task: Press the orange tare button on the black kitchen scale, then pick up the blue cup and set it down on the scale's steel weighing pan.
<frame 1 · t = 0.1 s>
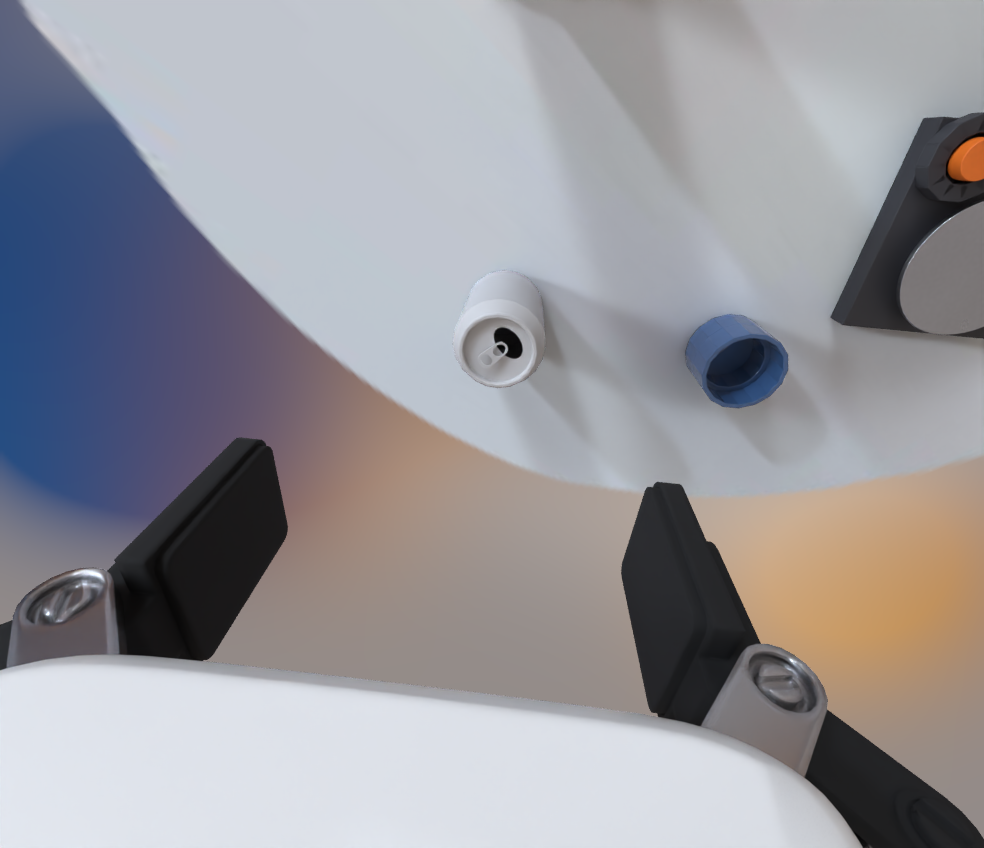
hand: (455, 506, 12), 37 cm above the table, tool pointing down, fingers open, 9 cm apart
can: (505, 306, 47), on the table
tare button: (976, 159, 34), point 4 cm above the table, slide at 0.2 cm
blue cup: (721, 347, 47), on the table
scale: (954, 235, 40), on the table
weighing pan: (940, 259, 41), resting on scale
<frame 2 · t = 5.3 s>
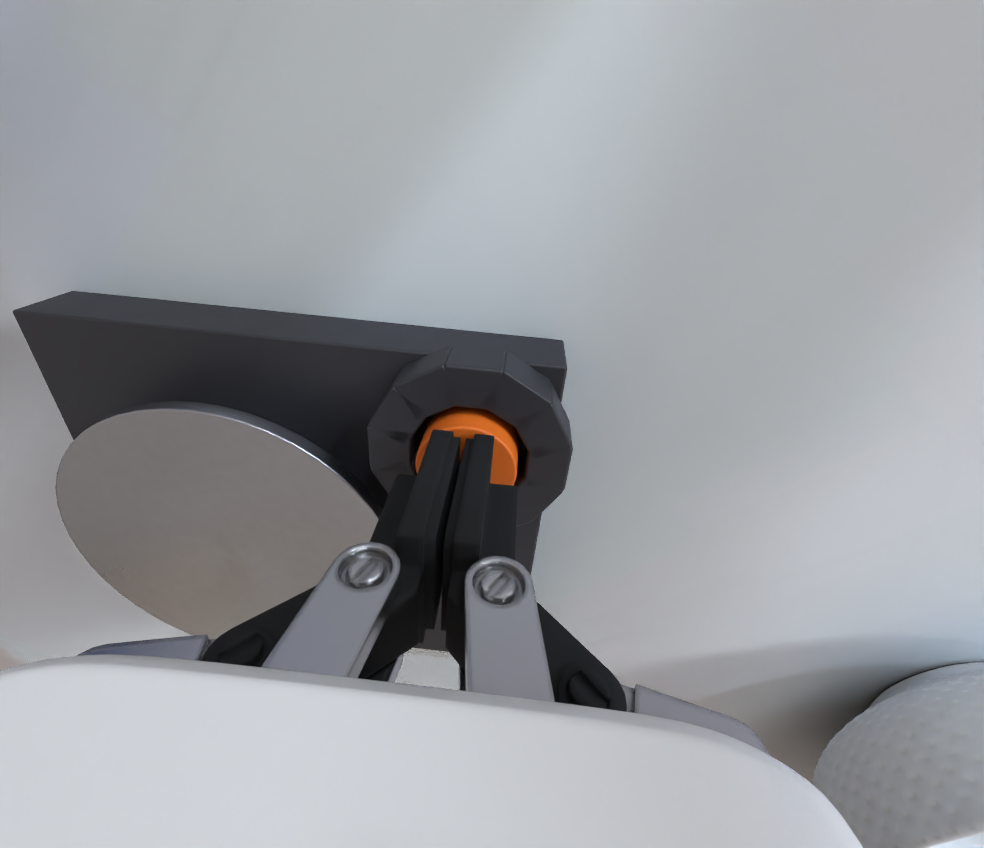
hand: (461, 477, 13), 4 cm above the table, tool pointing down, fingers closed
tare button: (468, 456, 13), point 3 cm above the table, slide at -0.3 cm, touching gripper
scale: (336, 484, 19), on the table
weighing pan: (286, 479, 19), resting on scale
cereal bowl: (950, 703, 23), on the table
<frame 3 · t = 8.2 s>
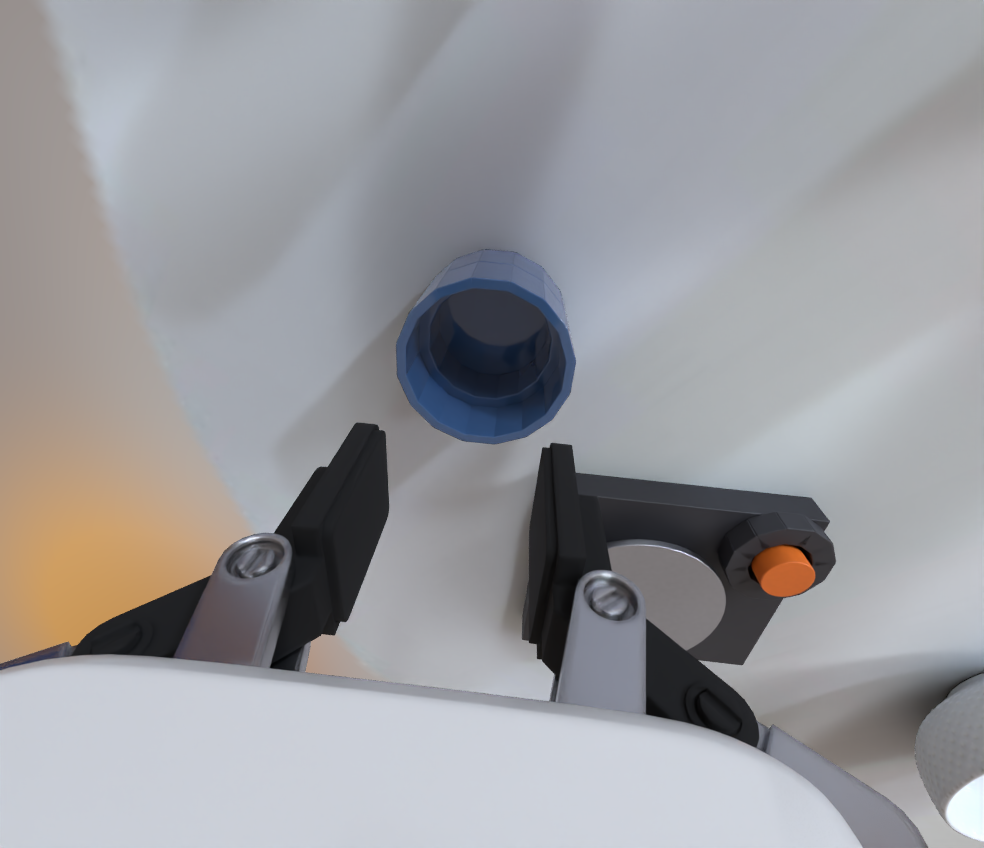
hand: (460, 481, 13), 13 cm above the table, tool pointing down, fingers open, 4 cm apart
tare button: (782, 570, 26), point 4 cm above the table, slide at 0.1 cm
blue cup: (494, 320, 24), on the table
scale: (649, 563, 32), on the table
weighing pan: (620, 560, 32), resting on scale
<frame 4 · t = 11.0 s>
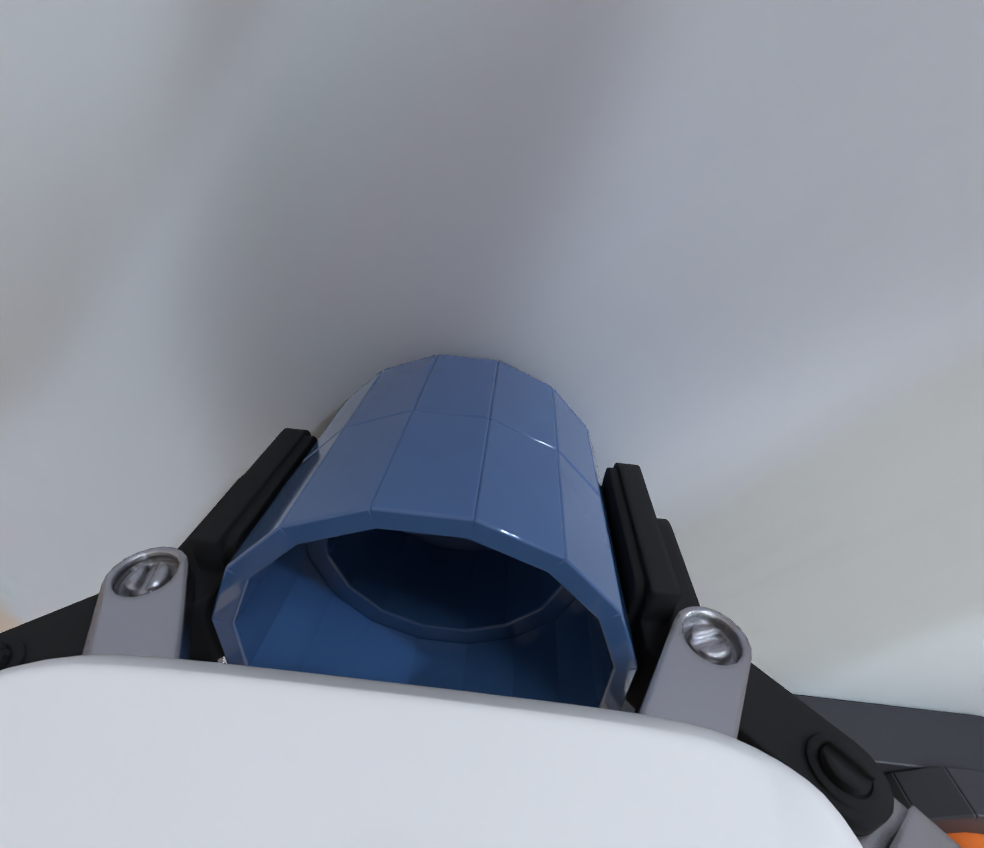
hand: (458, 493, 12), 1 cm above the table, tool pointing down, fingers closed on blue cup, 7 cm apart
blue cup: (464, 465, 13), on the table, touching gripper
scale: (709, 775, 21), on the table
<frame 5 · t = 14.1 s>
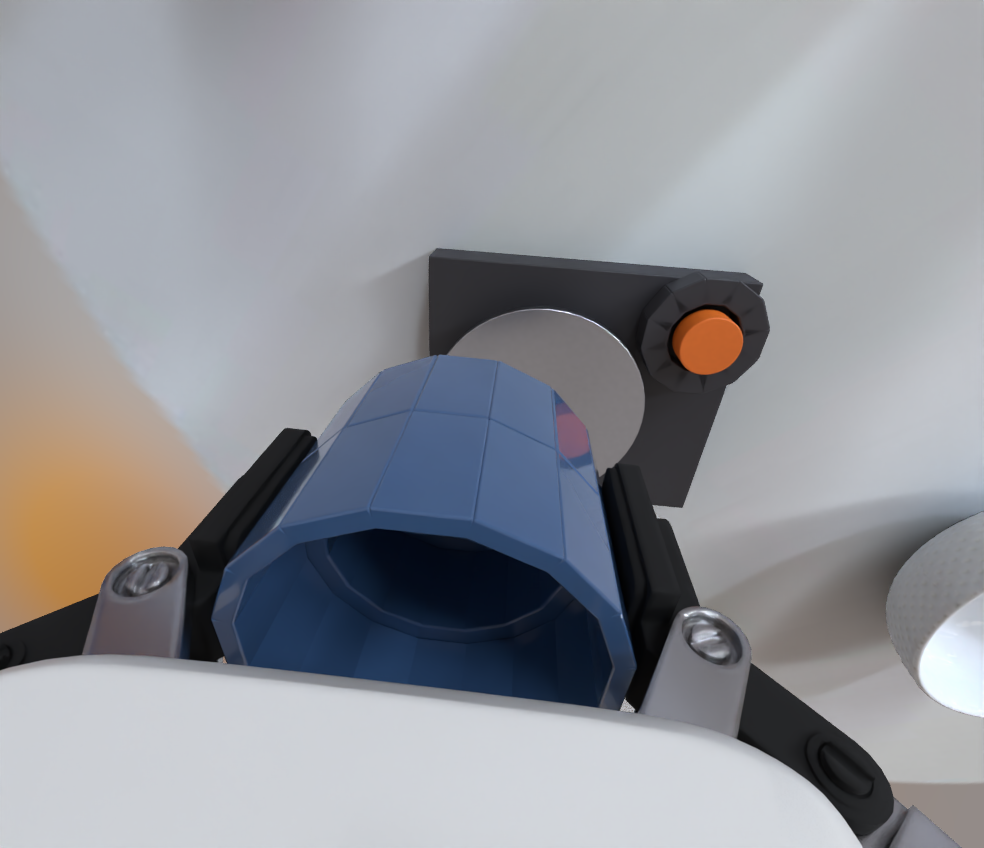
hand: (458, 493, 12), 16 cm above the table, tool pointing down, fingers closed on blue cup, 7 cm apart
tare button: (706, 342, 22), point 4 cm above the table, slide at 0.1 cm
blue cup: (464, 465, 13), point 15 cm above the table, touching gripper
scale: (569, 382, 28), on the table
weighing pan: (536, 379, 28), resting on scale
cereal bowl: (983, 550, 32), on the table
when the fingers open (5 cm above the table, at t = 17.6 s): blue cup stays where it is, resting on weighing pan.
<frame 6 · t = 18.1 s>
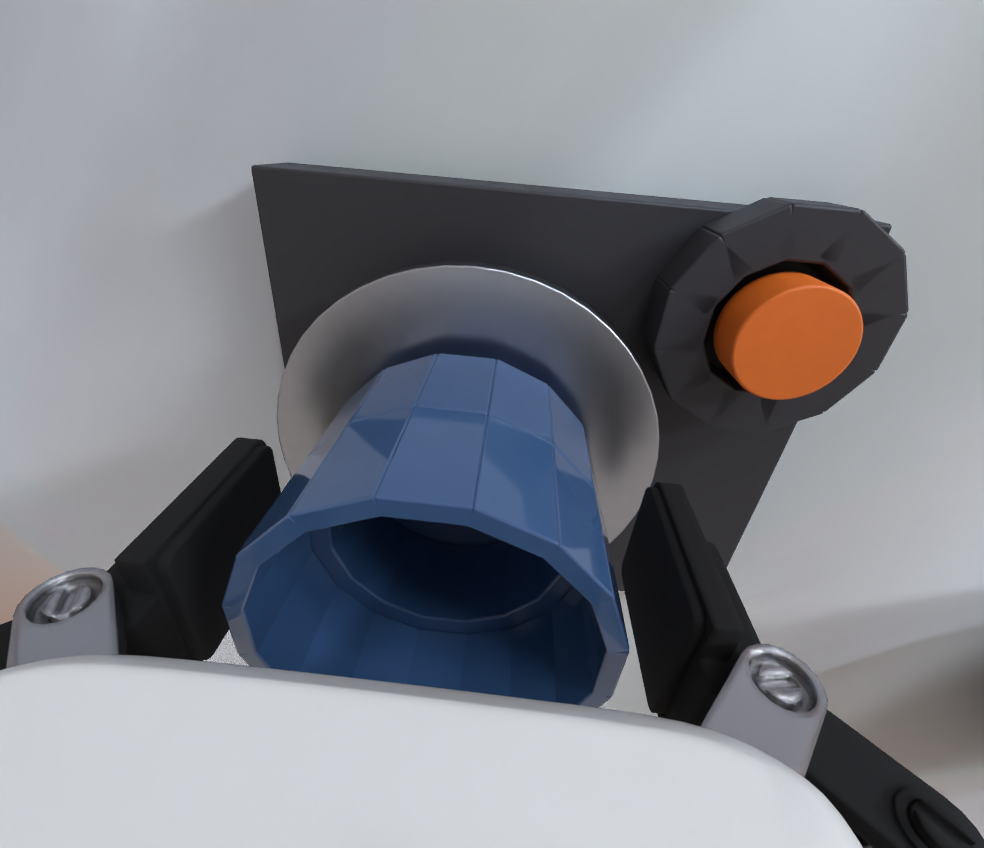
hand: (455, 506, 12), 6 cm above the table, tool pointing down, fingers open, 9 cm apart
tare button: (782, 336, 11), point 4 cm above the table, slide at 0.1 cm
blue cup: (463, 461, 14), point 4 cm above the table, touching weighing pan
scale: (532, 402, 17), on the table
weighing pan: (477, 396, 17), resting on scale
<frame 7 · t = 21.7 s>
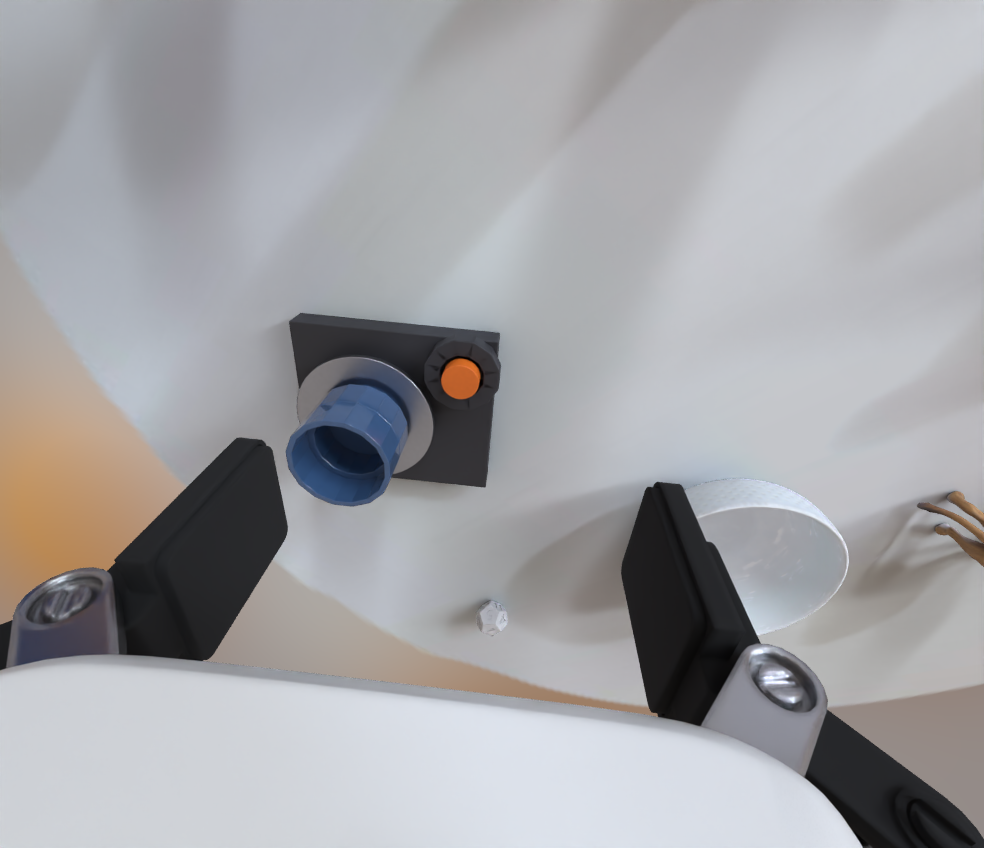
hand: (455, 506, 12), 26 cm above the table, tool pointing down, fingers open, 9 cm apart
lion figurine: (981, 525, 43), on the table
game die: (492, 605, 54), on the table
tare button: (460, 378, 35), point 4 cm above the table, slide at 0.1 cm
blue cup: (364, 421, 37), point 4 cm above the table, touching weighing pan
scale: (401, 400, 41), on the table
weighing pan: (379, 397, 41), resting on scale
cereal bowl: (710, 521, 45), on the table
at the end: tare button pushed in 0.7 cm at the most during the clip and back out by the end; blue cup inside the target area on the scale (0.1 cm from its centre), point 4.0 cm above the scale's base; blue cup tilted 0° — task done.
